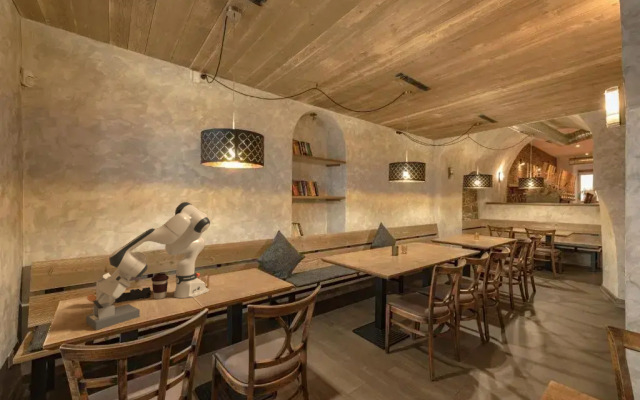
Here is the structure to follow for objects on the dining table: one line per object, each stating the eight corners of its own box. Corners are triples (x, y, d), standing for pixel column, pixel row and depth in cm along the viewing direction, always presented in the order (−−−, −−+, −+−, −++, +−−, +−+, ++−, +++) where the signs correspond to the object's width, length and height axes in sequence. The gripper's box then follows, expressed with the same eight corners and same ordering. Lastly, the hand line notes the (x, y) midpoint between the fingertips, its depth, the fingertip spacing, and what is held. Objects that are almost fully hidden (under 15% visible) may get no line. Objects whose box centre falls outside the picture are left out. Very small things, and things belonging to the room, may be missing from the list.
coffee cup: (161, 300, 187) (161, 277, 187) (147, 299, 189) (147, 276, 189) (171, 295, 197) (172, 273, 196) (159, 294, 199) (159, 272, 198)
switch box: (128, 310, 170) (128, 295, 170) (139, 316, 162) (139, 300, 162) (86, 322, 154) (86, 305, 154) (96, 330, 146) (96, 312, 146)
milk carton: (96, 307, 175) (96, 275, 174) (102, 303, 182) (102, 272, 181) (109, 306, 176) (109, 275, 176) (115, 302, 183) (115, 272, 183)
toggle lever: (106, 309, 157) (91, 293, 151) (109, 311, 155) (94, 294, 149) (100, 314, 154) (85, 297, 149) (103, 315, 153) (88, 298, 147)
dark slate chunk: (111, 297, 193) (111, 290, 193) (150, 291, 205) (150, 284, 205) (111, 304, 180) (111, 297, 180) (152, 298, 193) (152, 290, 193)
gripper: (107, 272, 164) (85, 294, 156) (122, 279, 152) (100, 303, 144) (116, 278, 167) (96, 300, 160) (132, 285, 156) (111, 309, 148)
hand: (98, 302), depth 152 cm, fingers closed, pressing on toggle lever
